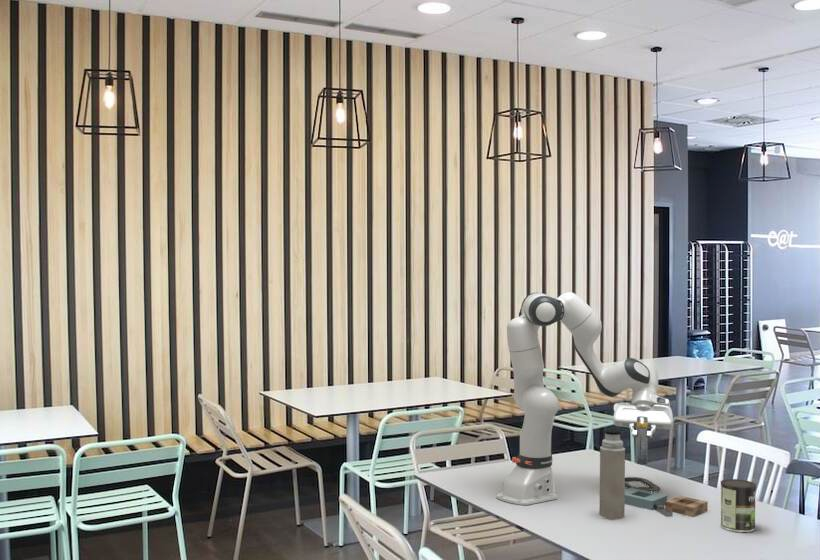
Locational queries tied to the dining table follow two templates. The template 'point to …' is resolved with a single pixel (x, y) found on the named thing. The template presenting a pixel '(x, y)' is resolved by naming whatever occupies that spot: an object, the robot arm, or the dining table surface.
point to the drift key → (662, 510)
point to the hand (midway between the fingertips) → (642, 436)
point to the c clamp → (651, 485)
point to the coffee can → (738, 505)
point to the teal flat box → (644, 498)
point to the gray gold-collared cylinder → (642, 440)
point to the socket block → (686, 506)
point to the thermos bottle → (612, 476)
